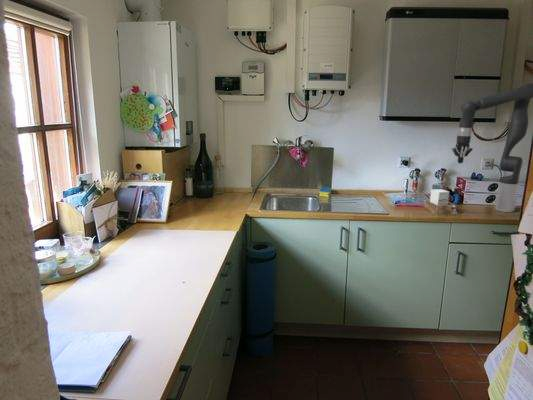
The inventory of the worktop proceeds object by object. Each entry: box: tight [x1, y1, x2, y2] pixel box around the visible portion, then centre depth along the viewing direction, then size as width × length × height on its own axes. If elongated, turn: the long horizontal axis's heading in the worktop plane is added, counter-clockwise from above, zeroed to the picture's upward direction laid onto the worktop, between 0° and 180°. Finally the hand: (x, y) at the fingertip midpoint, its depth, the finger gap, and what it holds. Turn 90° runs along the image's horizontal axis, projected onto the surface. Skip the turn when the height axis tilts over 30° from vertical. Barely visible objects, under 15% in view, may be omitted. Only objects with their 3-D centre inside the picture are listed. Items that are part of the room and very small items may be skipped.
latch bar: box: [448, 200, 458, 209], centre depth 232 cm, size 15×2×3 cm, turn 0°
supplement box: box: [429, 188, 450, 205], centre depth 230 cm, size 7×7×13 cm
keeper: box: [424, 199, 458, 215], centre depth 231 cm, size 14×14×5 cm
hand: (459, 163), depth 239 cm, fingers closed
